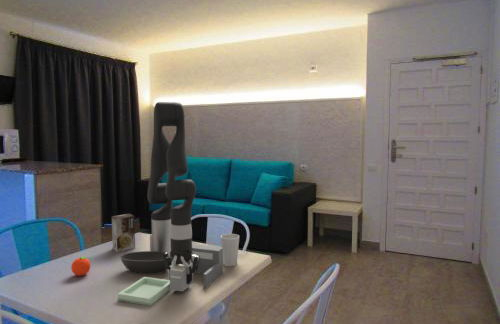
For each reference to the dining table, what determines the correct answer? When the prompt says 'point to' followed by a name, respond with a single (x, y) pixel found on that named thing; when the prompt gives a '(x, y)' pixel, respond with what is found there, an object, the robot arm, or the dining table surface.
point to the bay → (208, 262)
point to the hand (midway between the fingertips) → (181, 282)
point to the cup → (230, 249)
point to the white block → (179, 278)
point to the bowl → (144, 262)
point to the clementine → (81, 266)
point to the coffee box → (123, 232)
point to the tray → (145, 291)
